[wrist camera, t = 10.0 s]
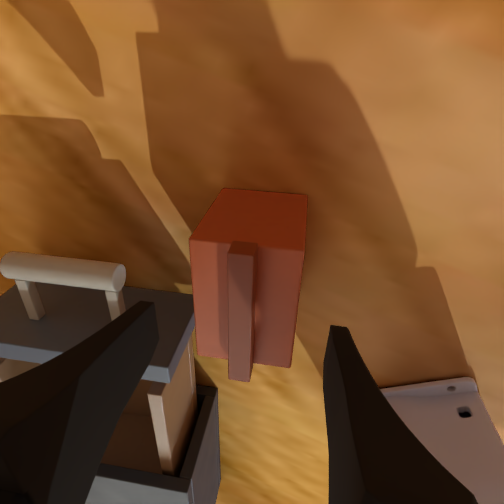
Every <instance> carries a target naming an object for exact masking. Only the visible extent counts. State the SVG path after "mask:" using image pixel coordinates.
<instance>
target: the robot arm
mask: <svg viewBox="0 0 504 504" xmlns="http://www.w3.org/2000/svg"><path fill="white" fill-rule="evenodd" d="M158 341H159V332H158V325H157V318H156V311H155V304H154V302H148V301H139V302H138V303H136V304H135V305H133V306H132V307H131V308H129V309H128V310H126V311H125V312H124V313H122V314H121V315H120V316H118V317H117V318H116V319H114V320H113V321H111V322H110V323H109V324H107V325H106V326H104V327H103V328H102V329H100V330H99V331H97V332H96V333H94V334H93V335H91V336H90V337H88V338H86V339H85V340H83V341H82V342H80V343H79V344H77V345H76V346H74V347H72V348H71V349H69V350H67V351H66V352H64V353H62V354H60V355H58V356H56V357H55V358H53V359H51V360H49V361H47V362H45V363H43V364H41V365H39V366H37V367H35V368H32V369H30V370H28V371H26V372H24V373H22V374H20V375H17V376H15V377H13V378H10V379H8V380H5V381H3V382H0V504H85V502H86V500H87V497H88V494H89V491H90V489H91V486H92V483H93V481H94V478H95V476H96V473H97V470H98V468H99V465H100V463H101V460H102V458H103V455H104V453H105V451H106V448H107V446H108V443H109V441H110V439H111V436H112V434H113V432H114V429H115V427H116V425H117V423H118V420H119V418H120V416H121V414H122V412H123V410H124V408H125V407H126V405H127V403H128V401H129V399H130V398H131V396H132V394H133V392H134V390H135V389H136V387H137V385H138V383H139V382H140V380H141V378H142V376H143V374H144V373H145V371H146V369H147V367H148V365H149V363H150V361H151V359H152V357H153V354H154V352H155V349H156V347H157V344H158ZM323 392H324V403H325V414H326V425H327V436H328V449H329V504H504V445H503V443H502V440H501V438H500V436H499V434H498V432H497V430H496V429H495V427H494V424H493V422H492V420H491V418H490V416H489V414H488V412H487V410H486V408H485V406H484V403H483V401H482V399H481V397H480V395H479V393H478V390H477V385H476V383H475V381H474V379H473V378H470V377H461V378H454V379H447V380H440V381H433V382H426V383H419V384H412V385H405V386H398V387H390V388H383V389H379V387H378V385H377V384H376V382H375V381H374V379H373V377H372V376H371V374H370V372H369V370H368V368H367V367H366V365H365V363H364V361H363V359H362V357H361V356H360V354H359V352H358V349H357V347H356V345H355V343H354V341H353V339H352V336H351V334H350V331H349V329H348V328H347V327H342V326H335V325H330V331H329V336H328V341H327V347H326V352H325V357H324V366H323Z"/></svg>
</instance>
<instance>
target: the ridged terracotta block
mask: <svg viewBox="0 0 504 504" xmlns="http://www.w3.org/2000/svg"><path fill="white" fill-rule="evenodd" d="M307 201H308V196H307V195H301V194H289V193H277V192H265V191H253V190H241V189H228V188H223V189H222V190H221V192H220V193H219V195H218V196H217V198H216V199H215V201H214V202H213V204H212V205H211V207H210V208H209V210H208V211H207V213H206V214H205V216H204V217H203V219H202V220H201V222H200V223H199V225H198V226H197V228H196V229H195V231H194V232H193V234H192V235H191V237H190V238H189V249H190V263H191V276H192V290H193V304H194V317H195V331H196V345H197V355H201V356H208V357H215V358H222V359H228V375H229V379H231V380H238V381H244V382H250V378H251V373H252V368H253V363H257V364H264V365H271V366H278V367H285V368H290V367H291V361H292V353H293V345H294V336H295V328H296V320H297V312H298V303H299V295H300V287H301V278H302V270H303V262H304V253H305V238H306V220H307Z"/></svg>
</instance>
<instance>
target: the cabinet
mask: <svg viewBox="0 0 504 504" xmlns="http://www.w3.org/2000/svg"><path fill="white" fill-rule="evenodd" d="M196 394H197V406H198V420H197V423H196V426H195V429H194V432H193V435H192V438H191V442H190V445H189V448H188V451H187V454H186V457H185V460H184V464H183V467H182V470H181V473H180V476H179V477H180V478H179V477H174V476H168V475H163V474H158V473H152V472H147V471H142V470H136V469H131V468H125V467H120V466H115V465H109V464H104V463H100V465H99V468H98V470H97V473H96V476H95V478H94V481H93V483H92V486H91V489H90V491H89V494H88V497H87V500H86V502H85V504H215V503H216V499H217V494H218V489H219V485H220V481H221V477H220V447H219V417H218V388H213V387H207V386H200V385H196Z"/></svg>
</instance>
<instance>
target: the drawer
mask: <svg viewBox="0 0 504 504" xmlns="http://www.w3.org/2000/svg"><path fill="white" fill-rule="evenodd" d="M0 271H1V273H2V275H3V276H4V277H6V278H10V279H15V282H16V284H15V285H14V286H13V287H12V288H10V289H9V290H8V291H7V292H5V293H4V294H3V295H1V296H0V382H3V381H5V380H8V379H10V378H13V377H15V376H17V375H20V374H22V373H24V372H26V371H28V370H30V369H32V368H35V367H37V366H39V365H41V364H43V363H45V362H47V361H49V360H51V359H53V358H55V357H56V356H58V355H60V354H62V353H64V352H66V351H67V350H69V349H71V348H72V347H74V346H76V345H77V344H79V343H80V342H82V341H83V340H85V339H86V338H88V337H90V336H91V335H93V334H94V333H96V332H97V331H99V330H100V329H102V328H103V327H104V326H106V325H107V324H109V323H110V322H111V321H113V320H114V319H116V318H117V317H118V316H120V315H121V314H122V313H124V312H125V311H126V310H128V309H129V308H131V307H132V306H133V305H135V304H136V303H138V302H139V301H148V302H154V304H155V311H156V318H157V325H158V332H159V341H158V344H157V347H156V349H155V352H154V354H153V357H152V359H151V361H150V363H149V365H148V367H147V369H146V371H145V373H144V374H143V376H142V378H141V380H140V382H139V383H138V385H137V387H136V389H135V390H134V392H133V394H132V396H131V398H130V399H129V401H128V403H127V405H126V407H125V408H124V410H123V412H122V414H121V416H120V418H119V420H118V423H117V425H116V427H115V429H114V432H113V434H112V436H111V439H110V441H109V443H108V446H107V448H106V451H105V453H104V455H103V458H102V460H101V463H104V464H109V465H115V466H120V467H125V468H131V469H136V470H142V471H147V472H152V473H158V474H163V475H168V476H174V477H179V476H180V473H181V470H182V467H183V464H184V460H185V457H186V454H187V451H188V448H189V445H190V442H191V438H192V435H193V432H194V429H195V426H196V423H197V420H198V406H197V394H196V381H195V369H194V356H193V344H192V332H193V329H194V327H195V317H194V304H193V295H192V294H184V293H176V292H167V291H159V290H151V289H143V288H134V287H126V286H124V283H125V280H126V269H125V267H124V265H123V264H120V263H112V262H103V261H94V260H85V259H76V258H67V257H59V256H50V255H41V254H32V253H23V252H14V251H12V252H9V253H7V254H5V255H4V256H3V258H2V259H1V262H0ZM179 478H180V477H179Z"/></svg>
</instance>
